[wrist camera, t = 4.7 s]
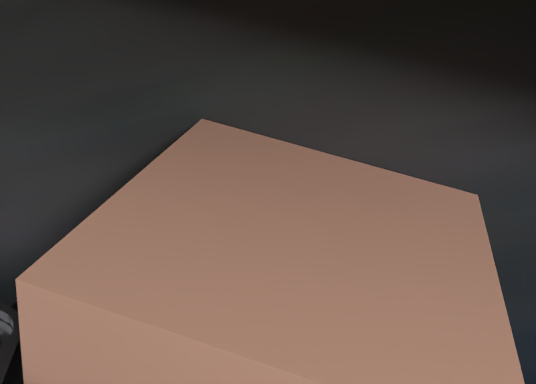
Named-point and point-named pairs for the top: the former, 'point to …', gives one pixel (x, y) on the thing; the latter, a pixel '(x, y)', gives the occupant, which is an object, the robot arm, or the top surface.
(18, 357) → the robot arm
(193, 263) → the terracotta cube
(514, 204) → the top surface
